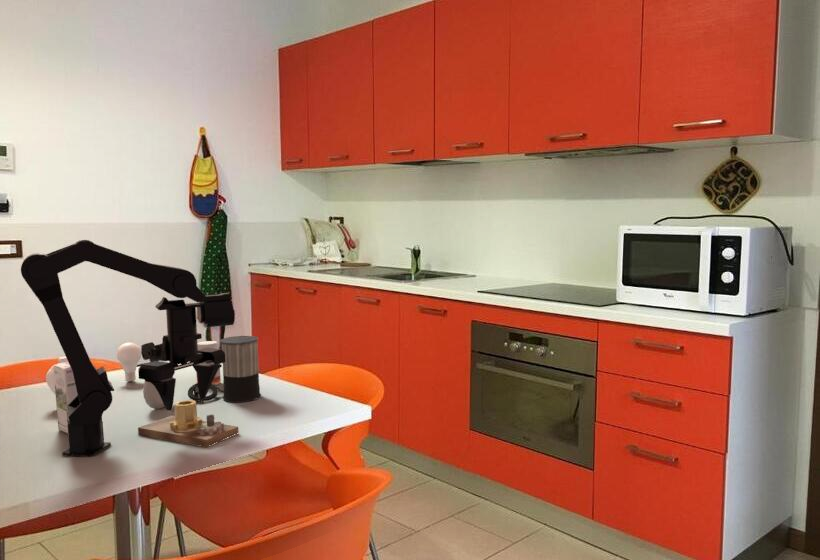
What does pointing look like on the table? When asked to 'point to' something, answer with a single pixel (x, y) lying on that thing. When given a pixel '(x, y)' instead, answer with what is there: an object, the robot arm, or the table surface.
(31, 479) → the table surface
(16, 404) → the table surface
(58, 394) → the syrup box
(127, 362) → the lightbulb
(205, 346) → the pill bottle
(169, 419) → the board
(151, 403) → the donut
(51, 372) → the spinning top
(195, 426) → the brass gear
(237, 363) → the milk frother
